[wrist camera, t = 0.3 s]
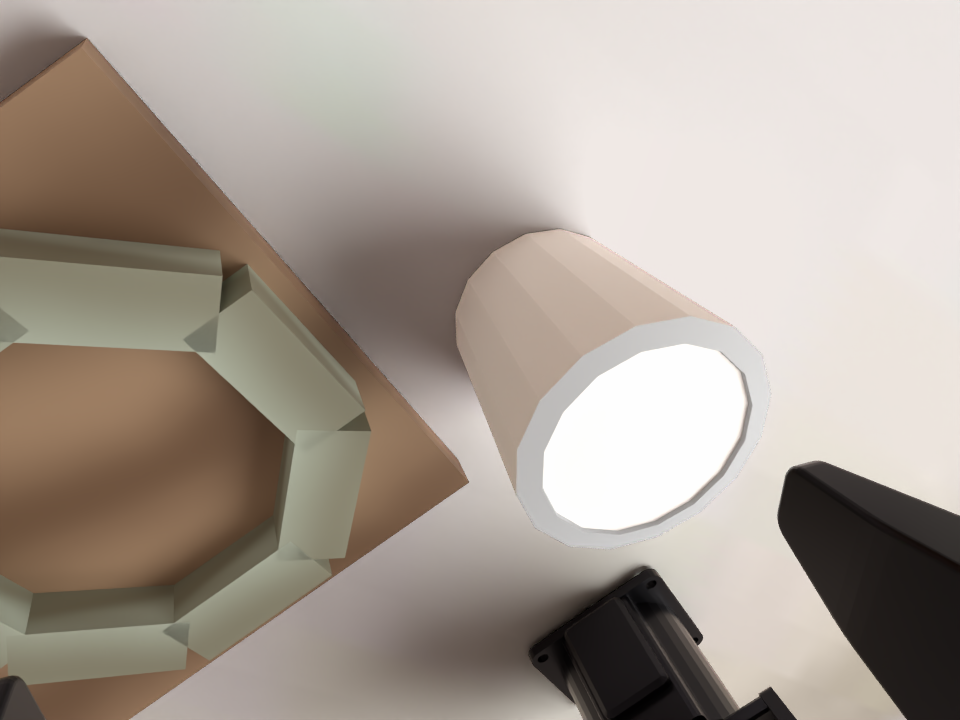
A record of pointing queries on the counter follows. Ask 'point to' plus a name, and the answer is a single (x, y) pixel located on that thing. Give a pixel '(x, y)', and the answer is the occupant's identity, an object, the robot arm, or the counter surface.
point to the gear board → (167, 410)
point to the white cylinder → (606, 389)
